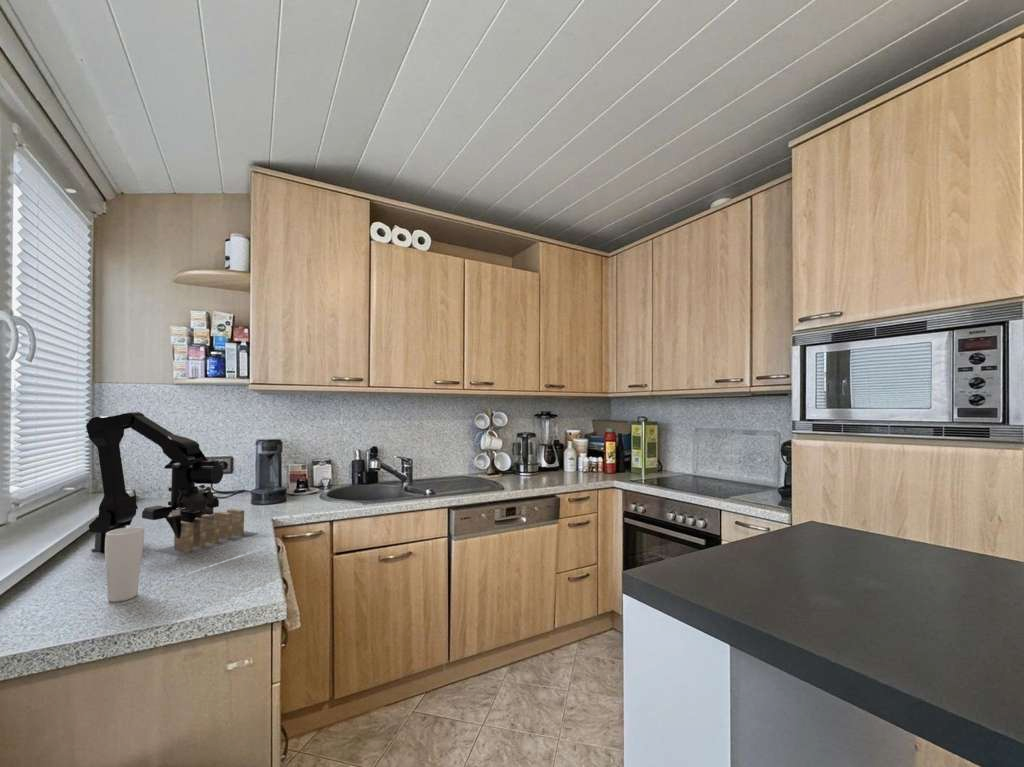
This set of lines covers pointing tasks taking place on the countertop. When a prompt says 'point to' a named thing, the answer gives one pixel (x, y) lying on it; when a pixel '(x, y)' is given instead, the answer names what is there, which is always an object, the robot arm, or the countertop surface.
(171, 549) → the slate mat
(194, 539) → the domino
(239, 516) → the domino
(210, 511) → the lucky cat figurine
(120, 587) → the beige tall tapered piece
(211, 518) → the domino
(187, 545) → the domino
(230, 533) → the wooden block
